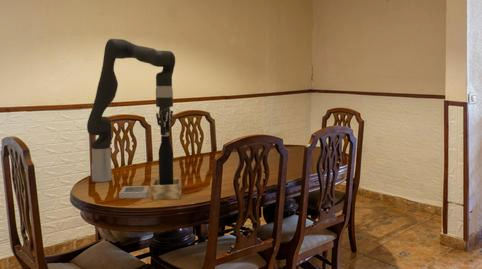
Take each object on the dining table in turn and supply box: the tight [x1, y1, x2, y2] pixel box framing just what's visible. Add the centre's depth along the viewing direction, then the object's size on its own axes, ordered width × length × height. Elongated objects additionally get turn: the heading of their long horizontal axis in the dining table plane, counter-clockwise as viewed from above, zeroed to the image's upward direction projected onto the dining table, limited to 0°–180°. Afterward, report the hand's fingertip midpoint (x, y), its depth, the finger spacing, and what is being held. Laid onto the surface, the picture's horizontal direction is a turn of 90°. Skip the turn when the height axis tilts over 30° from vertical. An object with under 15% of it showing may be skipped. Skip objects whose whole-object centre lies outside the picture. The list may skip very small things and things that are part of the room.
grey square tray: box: [118, 185, 150, 200], centre depth 218 cm, size 12×12×2 cm
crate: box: [150, 177, 182, 201], centre depth 216 cm, size 13×13×6 cm
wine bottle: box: [158, 119, 174, 185], centre depth 214 cm, size 6×6×30 cm
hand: (165, 134), depth 213 cm, fingers closed on wine bottle, 4 cm apart
